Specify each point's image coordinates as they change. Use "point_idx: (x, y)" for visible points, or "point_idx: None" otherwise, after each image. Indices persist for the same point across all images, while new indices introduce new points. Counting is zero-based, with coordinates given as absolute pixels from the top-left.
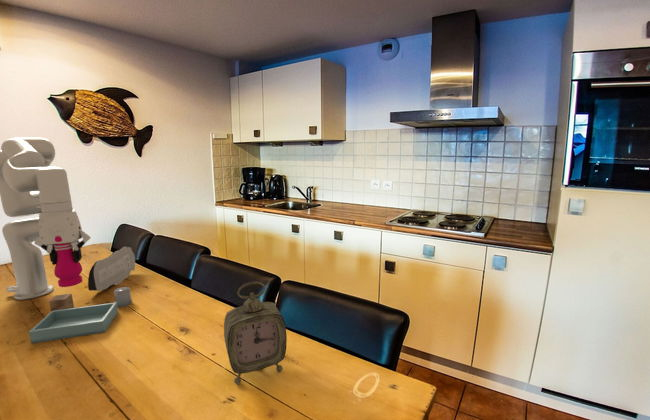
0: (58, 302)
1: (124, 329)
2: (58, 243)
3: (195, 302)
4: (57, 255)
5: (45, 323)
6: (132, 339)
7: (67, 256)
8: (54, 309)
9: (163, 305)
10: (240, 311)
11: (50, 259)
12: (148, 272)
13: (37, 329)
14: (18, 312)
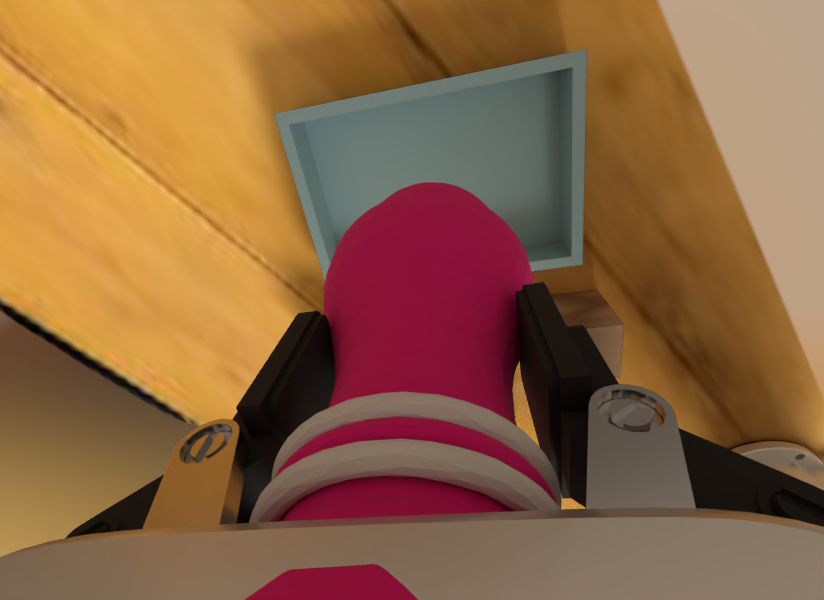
0: (581, 322)
1: (225, 125)
2: (371, 520)
3: (89, 306)
4: (536, 414)
5: (566, 175)
6: (130, 23)
7: (359, 346)
8: (592, 305)
9: (197, 303)
10: None
11: (588, 337)
12: None
13: (553, 69)
14: (752, 347)
